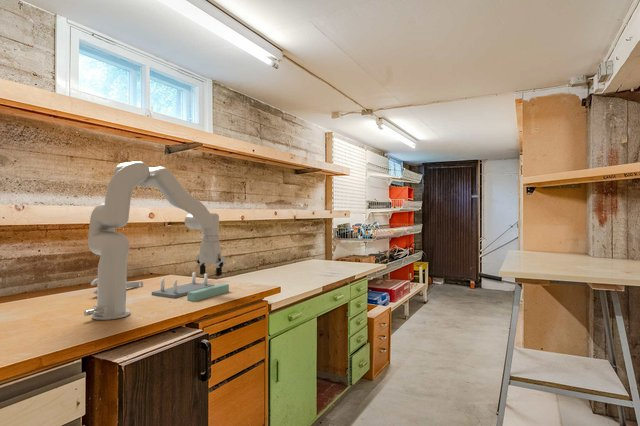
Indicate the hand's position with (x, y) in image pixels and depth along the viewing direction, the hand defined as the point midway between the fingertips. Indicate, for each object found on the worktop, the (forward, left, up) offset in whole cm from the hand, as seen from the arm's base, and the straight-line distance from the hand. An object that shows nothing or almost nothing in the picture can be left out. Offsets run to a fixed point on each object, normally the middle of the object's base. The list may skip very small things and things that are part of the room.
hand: (210, 274), depth 178 cm
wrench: (-14, +44, -10) cm, 48 cm away
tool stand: (+1, +17, -10) cm, 20 cm away
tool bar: (-1, 0, -10) cm, 10 cm away
